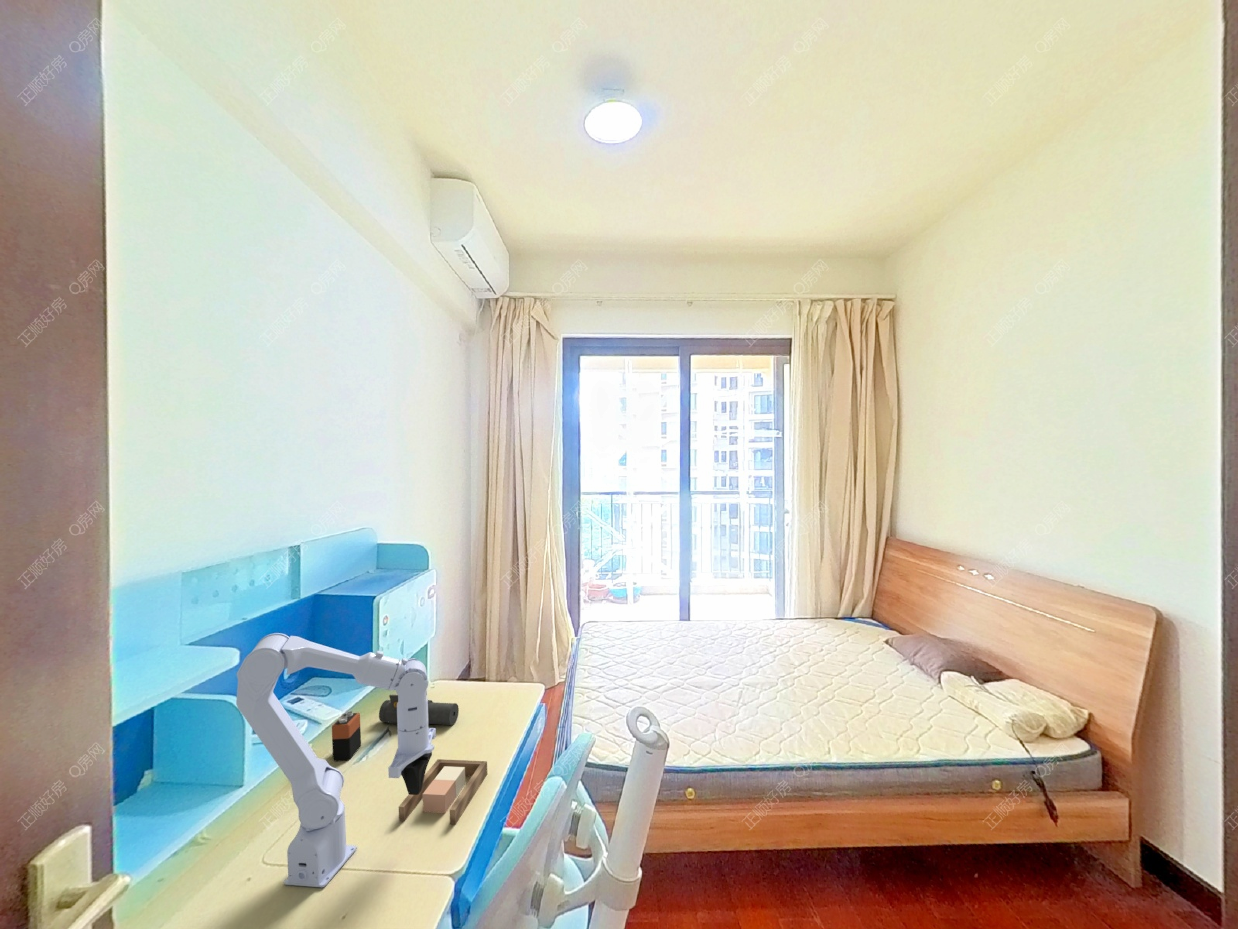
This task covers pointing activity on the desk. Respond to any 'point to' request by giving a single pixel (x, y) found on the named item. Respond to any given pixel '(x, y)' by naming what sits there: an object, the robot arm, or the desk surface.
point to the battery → (346, 736)
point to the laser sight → (436, 712)
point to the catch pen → (478, 775)
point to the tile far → (453, 776)
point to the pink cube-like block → (439, 796)
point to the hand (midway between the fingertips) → (414, 792)
